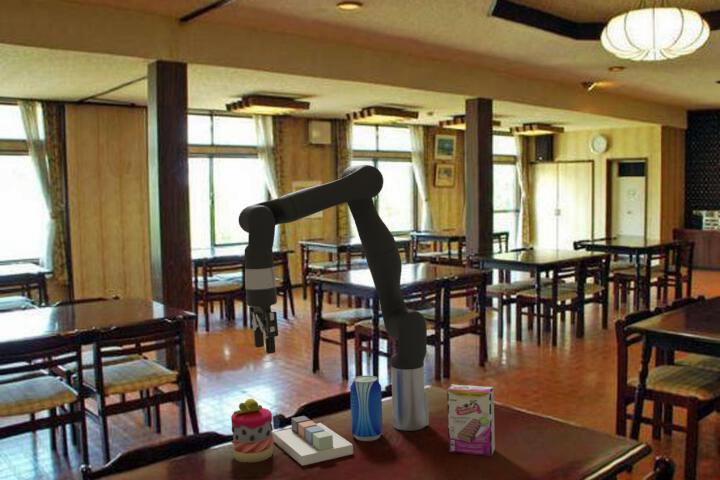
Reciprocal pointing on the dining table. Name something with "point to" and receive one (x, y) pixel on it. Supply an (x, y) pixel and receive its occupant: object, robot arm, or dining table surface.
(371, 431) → the beer can
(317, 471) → the dining table surface
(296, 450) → the keypad frame
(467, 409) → the candy bar box
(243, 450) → the cake
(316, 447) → the sage key
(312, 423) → the terracotta key
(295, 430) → the charcoal key
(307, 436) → the slate-blue key
